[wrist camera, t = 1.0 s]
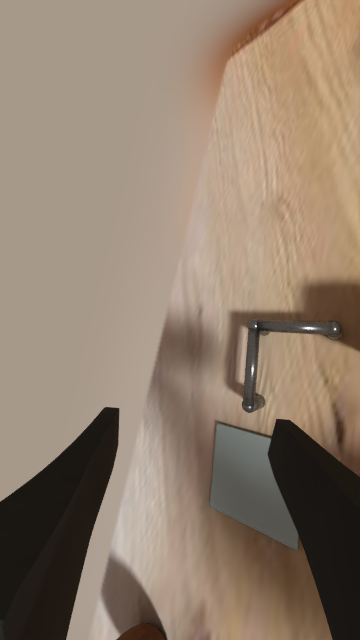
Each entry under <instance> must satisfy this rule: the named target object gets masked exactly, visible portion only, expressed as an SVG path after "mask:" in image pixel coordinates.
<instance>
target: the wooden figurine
mask: <svg viewBox="0 0 360 640" xmlns="http://www.w3.org/2000/svg"><path fill="white" fill-rule="evenodd" d="M117 640H165V638H164V636H163V635H162V633H161V632H160V631H159V630H158V629H157V628H156V627H154V626H153V625H151V624H148V623H141V624H139V625H137V626H135V627H133V628H131V629H129V630H128V631H126V632H125V633H123V634H122V635H121V636H120V637H119V638H118V639H117Z"/></svg>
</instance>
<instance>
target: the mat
mask: <svg viewBox="0 0 360 640" xmlns="http://www.w3.org/2000/svg"><path fill="white" fill-rule="evenodd" d="M270 442H271V438H270V437H267V436H263V435H260V434H256V433H253V432H249V431H246V430H242V429H238V428H235V427H231V426H228V425H224V424H221V423H217V427H216V439H215V450H214V462H213V473H212V485H211V496H210V507H211V508H213V509H215V510H217V511H219V512H221V513H223V514H225V515H227V516H229V517H231V518H233V519H235V520H237V521H239V522H241V523H243V524H245V525H247V526H249V527H251V528H253V529H255V530H256V531H258V532H260V533H262V534H264V535H266V536H268V537H270V538H272V539H274V540H276V541H278V542H280V543H282V544H284V545H286V546H288V547H290V548H292V549H294V550H296V551H297V550H298V540H299V535H298V532H297V530H296V528H295V525H294V523H293V521H292V518H291V516H290V514H289V511H288V509H287V507H286V504H285V502H284V500H283V497H282V495H281V493H280V490H279V488H278V485H277V483H276V481H275V478H274V475H273V472H272V469H271V465H270V462H269V458H268V454H267V453H268V450H269V446H270Z"/></svg>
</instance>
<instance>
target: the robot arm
mask: <svg viewBox="0 0 360 640" xmlns="http://www.w3.org/2000/svg"><path fill="white" fill-rule="evenodd" d="M118 432H119V408H110V407H105V408H104V409H103V410H102V411H101V412H100V413H99V415H98V416H97V417H96V418H95V419H94V420H93V422H92V423H91V424H90V425H89V426H88V427H87V428H86V429H85V430H84V431H83V432H82V433H81V435H80V436H79V437H78V438H77V439H76V440H75V441H74V442H73V443H72V444H71V445H70V446H69V447H68V448H66V449H65V450H64V451H63V452H62V453H61V454H60V455H59V456H58V457H57V458H56V459H55V460H54V461H53V462H51V463H50V464H49V465H48V466H47V467H45V468H44V469H43V470H42V471H41V472H39V473H38V474H37V475H36V476H34V477H33V478H32V479H31V480H29V481H28V482H27V483H25V484H24V485H23V486H21V487H20V488H19V489H18V490H16V491H15V492H14V493H12V494H11V495H9V496H8V497H6V498H5V499H4V500H2V501H1V502H0V640H66V637H67V633H68V629H69V624H70V620H71V615H72V611H73V607H74V602H75V599H76V594H77V590H78V586H79V582H80V578H81V573H82V569H83V565H84V561H85V557H86V553H87V549H88V545H89V541H90V538H91V534H92V531H93V527H94V524H95V521H96V518H97V515H98V512H99V509H100V506H101V503H102V500H103V497H104V494H105V491H106V488H107V485H108V482H109V479H110V476H111V473H112V469H113V466H114V461H115V457H116V452H117V448H118ZM267 454H268V458H269V462H270V465H271V469H272V472H273V475H274V478H275V481H276V483H277V485H278V488H279V490H280V493H281V495H282V497H283V500H284V502H285V504H286V507H287V509H288V511H289V514H290V516H291V518H292V521H293V523H294V525H295V528H296V530H297V532H298V535H299V537H300V540H301V542H302V545H303V547H304V550H305V553H306V556H307V559H308V562H309V565H310V568H311V571H312V574H313V577H314V580H315V583H316V586H317V589H318V592H319V596H320V599H321V602H322V605H323V608H324V611H325V615H326V618H327V621H328V625H329V628H330V632H331V635H332V639H333V640H360V477H359V476H357V475H356V474H355V473H354V472H352V471H351V470H350V469H348V468H347V467H346V466H344V465H343V464H342V463H341V462H339V461H338V460H337V459H336V458H335V457H333V456H332V455H331V454H330V453H328V452H327V451H326V450H325V449H324V448H323V447H321V446H320V445H319V444H318V443H317V442H315V441H314V440H313V439H312V438H311V437H310V436H308V435H307V434H306V433H305V432H304V431H303V430H301V429H300V428H299V427H298V426H297V425H295V424H294V423H293V422H292V421H290V420H284V419H276V423H275V427H274V431H273V434H272V438H271V442H270V446H269V450H268V453H267Z"/></svg>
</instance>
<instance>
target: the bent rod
mask: <svg viewBox="0 0 360 640" xmlns="http://www.w3.org/2000/svg"><path fill="white" fill-rule="evenodd" d="M269 332H283V333H303V334H323V335H327V336H328V337H329V338H330V339H333V340H337V339H340V338H341V337H342V335H343V331H342V326H341V324H340V323H339V322H337V321H328V322H318V321H276V320H257V319H252V320H250V321H249V322H248V342H247V355H246V368H245V381H244V394H243V402H242V407H243V409H244V410H245V411H246V412H248V413H251V412H253V411H256V410H258V409H260V408H262V407H264V405H265V399H264V398H263V397H262V396H261V395H256V396H255V394H256V380H257V366H258V352H259V338H260V335H263V336H265V335H267V334H269Z"/></svg>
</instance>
